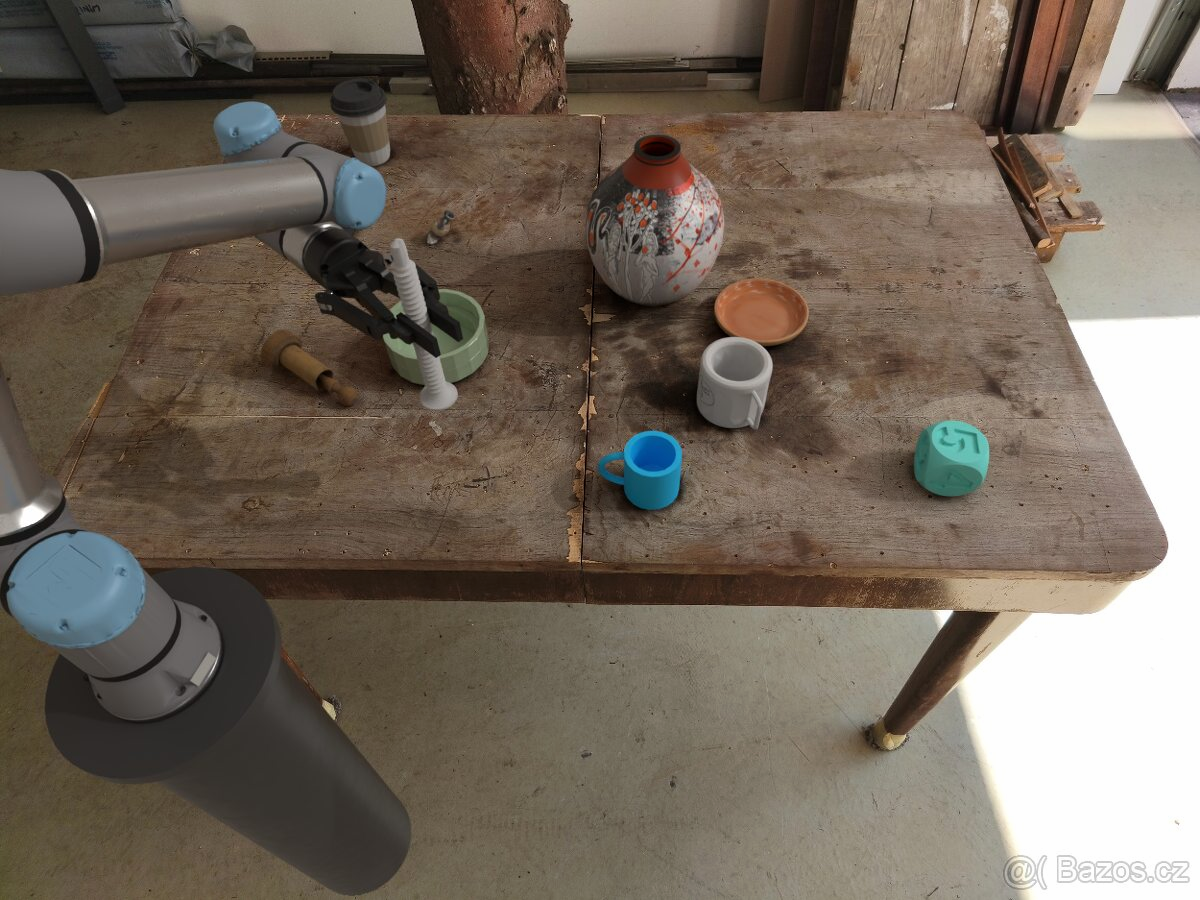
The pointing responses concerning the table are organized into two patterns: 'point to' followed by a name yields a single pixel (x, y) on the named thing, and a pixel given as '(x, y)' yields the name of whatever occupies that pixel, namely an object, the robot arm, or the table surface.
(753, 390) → the mug
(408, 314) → the screw
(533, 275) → the table surface
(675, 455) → the mug
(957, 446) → the decorative dice
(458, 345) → the bowl
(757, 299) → the saucer
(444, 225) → the vase
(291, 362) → the mortar and pestle
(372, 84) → the coffee cup
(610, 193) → the vase
